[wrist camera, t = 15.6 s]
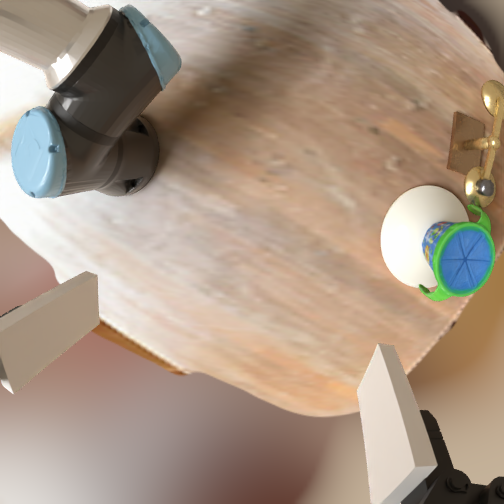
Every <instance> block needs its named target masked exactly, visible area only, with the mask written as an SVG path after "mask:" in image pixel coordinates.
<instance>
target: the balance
mask: <svg viewBox="0 0 504 504" xmlns="http://www.w3.org/2000/svg"><path fill="white" fill-rule="evenodd" d="M481 96H482V100H483V103H484V106H485V108H486V109H487V111H488V112H489V113H490V114H491V115H492V116H493V117H494V118H495V119H494V125H493V130H492V135H490V136H489V137H484V138H483V134H484V124H483V123H481V122H479V121H477V120H475V119H473V118H471V117H468V116H466V115H464V114H462V113H459V112H454V117H453V127H452V136H451V143H450V151H449V157H448V164H447V169H450V170H452V171H455V172H458V173H460V174H463V175H466V177H465V180H464V191H465V195H466V197H467V199H468V201H469V202H470V203H471V204H472V205H474V206H477V207H481V208H482V207H486V206H488V205H489V204H490V203H491V202H492V201H493V199H494V196H495V192H496V184H495V180H494V177H493V175H492V173H491V169H492V166H493V162H494V157H495V153H496V150H498V149H499V148H500V145H501V143H500V139H499V134H500V129H501V124H502V120H504V86H503V85H502V84H501V83H500V82H498V81H495V80H489V81H487V82H485V83H484V84H483V86H482V90H481ZM484 149H488V153H487V158H486V162H485V166H484V167H481V166H480V160H481V152H482V150H484Z"/></svg>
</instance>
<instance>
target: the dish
mask: <svg viewBox="0 0 504 504" xmlns="http://www.w3.org/2000/svg"><path fill="white" fill-rule="evenodd" d="M442 221H445V222H466V221H467V222H469V218H468V215H467V213H466V210H465V208H464V206H463V205H462V203H461V202H460V201H459V200H458V198H457V197H456V196H454V195H453V194H452V193H451V192H449V191H447V190H446V189H443V188H441V187H437V186H429V185H425V186H418V187H415V188H412V189H410V190H408V191H406V192H404V193H403V194H402V195H400V196H399V197H398V198H397V199H396V200H395V201H394V203H393V204H392V205H391V206H390V208H389V210H388V211H387V213H386V216H385V218H384V221H383V224H382V228H381V235H380V244H381V251H382V255H383V259H384V261H385V263H386V265H387V267H388V268H389V270H390V271H391V272H392V274H393V275H394V276H395V277H396V278H397V279H398V280H400V281H401V282H403V283H404V284H406V285H409V286H412V287H416V288H419V286H418V285H419V284H422V285H423V286H425V287H426V288H429V287H434V286H437V285H438V283H437V280H436V279H435V276H434V272H433V271H432V269H431V267H430V266H429V264H428V262H427V261H426V259H425V257H424V255H423V249H422V242H423V239H424V236H425V234H426V232H427V230H428V229H429V228H430V227H431V226H432V225H433V224H434V223H438V222H442Z"/></svg>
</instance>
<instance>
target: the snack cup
mask: <svg viewBox="0 0 504 504" xmlns="http://www.w3.org/2000/svg"><path fill="white" fill-rule="evenodd" d="M467 207H468V209H469V210H470V211H471V212H472V213H473V214H475V215H478V216H481V217H480V220H479V221H478V222H475V223H474V222H467V221H466V222H445V221H442V222H438V223H434V224H433V225H432V226H431V227H430V228H429V229H428V230H427V232H426V234H425V236H424V239H423V242H422V249H423V255H424V257H425V259H426V261H427V262H428V264H429V266H430V267H431V269H432V271H433V272H434V276H435V279H436V280H437V283H438V287H437V289H436V291H435V292H430V291H429V290H428V289H427V288H426V287H425V286H423V285H422V284H419V285H418V286H419V289H420V290H421V292H422V293H423V294H424V295H426V296H427V297H428V298H430V299H431V300H434V301H443V300H445V299H447V298H449V297H451V296H457V297H464V296H468V295H471V294H473V293H475V292H476V291H478V290H479V289H480V288H481V287H482V286H483V285H484V284H485V283H486V282H487V280H488V278H489V276H490V274H491V272H492V270H493V267H494V263H495V246H494V242H493V239H492V237H491V223H490V219H489V217H488V216H487V214H486V213H485V212H484V211H483V210H482V209H480V208H479V207H477V206H474V205H471V204H470V205H468V206H467Z"/></svg>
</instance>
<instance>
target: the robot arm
mask: <svg viewBox="0 0 504 504" xmlns="http://www.w3.org/2000/svg"><path fill="white" fill-rule="evenodd" d="M0 52H2V53H5V54H7V55H9V56H11V57H14V58H16V59H18V60H21V61H23V62H25V63H27V64H29V65H32V66H34V67H36V68H38V69H40V70H42V71H43V72H44V75H45V80H46V84H47V87H48V88H49V89H51V90H53V91H55V93H54V94H53V96H52V97H51V99H50V100H49V102H48V104H47V105H46V107H42V106H38V107H36V108H33V109H31V110H29V111H27V112H26V113H25V114H24V115H23V116H22V117H21V119H20V120H19V122H18V124H17V126H16V129H15V131H14V135H13V139H12V147H11V156H12V167H13V171H14V175H15V178H16V180H17V182H18V184H19V186H20V187H21V189H22V190H23V191H24V192H25V193H26V194H28V195H29V196H31V197H34V198H47V197H48V198H56V197H58V196H64V195H69V194H74V193H79V192H85V191H90V190H96V191H99V192H101V193H104V194H106V195H109V196H125V195H130V194H133V193H135V192H137V191H139V190H140V189H141V188H143V187H144V186H145V185H146V184H147V183H148V181H149V180H150V179H151V177H152V175H153V174H154V171H155V169H156V166H157V163H158V158H159V143H158V138H157V135H156V133H155V130H154V129H153V127H152V126H151V124H150V123H149V122H148V121H147V120H146V119H144V118H143V117H141V116H139V115H140V114H141V112H142V111H143V110H144V109H145V108H146V107H147V106H148V104H149V103H150V102H151V101H152V100H153V99H154V98H155V97H156V96H157V94H158V93H159V92H160V91H163V90H164V89H165V87H166V85H167V84H168V82H169V81H170V80H171V79H172V78H173V77H174V76H175V75H176V74H177V72H178V71H179V70H180V68H181V58H180V55H179V54H178V52H177V51H176V50H175V48H174V47H173V46H172V45H171V43H170V42H169V41H168V40H167V39H166V38H165V37H164V35H163V34H162V33H161V32H160V31H159V30H158V29H157V28H156V27H155V26H154V25H153V24H152V23H150V22H149V20H148V19H147V18H145V16H144V15H143V14H142V13H141V12H140V11H138V10H137V9H136V8H135V7H133V6H132V5H126V6H125V7H122V8H121V9H120V10H119V11H118V10H116V9H115V8H113V7H112V6H110V5H109V4H106V5H101V6H97V7H92V8H90V7H87V6H86V5H84V4H83V3H81V2H79V1H78V0H0ZM99 324H100V322H99V306H98V277H97V275H96V274H93V273H90V272H87V271H85V272H83V273H81V274H79V275H78V276H76V277H74V278H72V279H70V280H68V281H66V282H64V283H62V284H60V285H59V286H57V287H55V288H53V289H51V290H49V291H47V292H46V293H44V294H42V295H40V296H38V297H37V298H35V299H33V300H31V301H29V302H27V303H26V304H24V305H21V306H17V307H15V308H14V309H12V310H10V311H9V312H8V313H5V314H3V315H2V317H1V316H0V380H1V383H2V385H3V386H4V387H5V388H7V390H9V391H10V392H11V393H13V394H15V393H16V392H17V391H18V390H20V389H21V388H22V387H23V386H24V385H26V384H27V383H28V382H29V381H30V380H31V379H33V378H34V377H35V376H36V375H37V374H39V373H40V372H41V371H42V370H43V369H44V368H46V367H47V366H48V365H49V364H50V363H52V362H53V361H54V360H55V359H56V358H58V357H59V356H60V355H61V354H63V353H64V352H65V351H66V350H68V349H69V348H70V347H71V346H72V345H74V344H75V343H76V342H77V341H79V340H80V339H81V338H82V337H84V336H85V335H86V334H87V333H89V332H90V331H91V330H92V329H94V328H95V327H96V326H97V325H99ZM357 395H358V401H359V408H360V414H361V421H362V428H363V435H364V443H365V451H366V459H367V468H368V478H369V488H370V500H371V504H400V503H401V504H504V477H497V478H495V479H494V480H493V481H492V482H491V483H490V484H489V485H487V486H486V485H479V484H472V483H471V481H470V479H469V478H468V476H467V475H466V474H465V473H463V472H462V471H459V470H457V469H454V468H453V465H452V462H451V459H450V456H449V453H448V450H447V447H446V445H445V442H444V440H443V437H442V434H441V432H440V429H439V426H438V423H437V421H436V419H435V418H434V417H433V415H432V414H431V413H430V412H429V411H428V410H419V408H418V405H417V402H416V400H415V397H414V395H413V392H412V389H411V387H410V384H409V382H408V379H407V376H406V374H405V371H404V369H403V367H402V364H401V362H400V359H399V357H398V355H397V352H396V350H395V347H394V345H387V344H381V343H378V345H377V347H376V349H375V352H374V354H373V356H372V359H371V361H370V363H369V366H368V368H367V370H366V372H365V375H364V377H363V379H362V381H361V383H360V385H359V388H358V390H357Z"/></svg>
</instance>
